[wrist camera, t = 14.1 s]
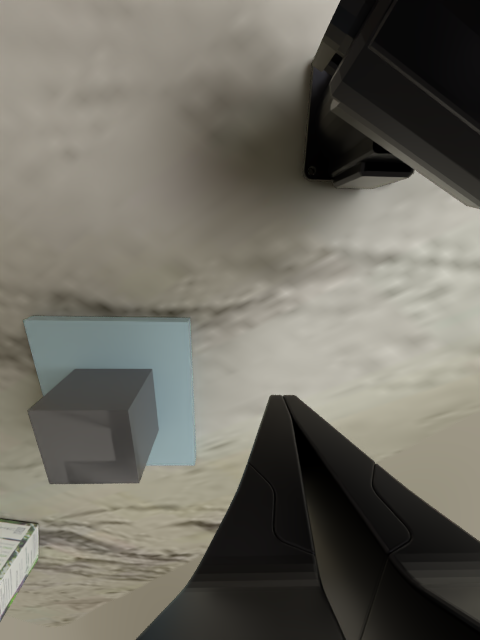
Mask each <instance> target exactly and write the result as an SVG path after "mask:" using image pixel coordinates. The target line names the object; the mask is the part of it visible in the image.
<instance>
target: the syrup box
mask: <svg viewBox="0 0 480 640" xmlns="http://www.w3.org/2000/svg"><path fill="white" fill-rule="evenodd" d="M38 554H39V535H38V524H33V523H25V522H18V521H11V520H4V519H0V621H1V620H2V618H3V616H4V615H5V613H6V611H7V610H8V608H9V607H10V605H11V603H12V602H13V600H14V598H15V596H16V595H17V593H18V592H19V590H20V588H21V587H22V585H23V583H24V582H25V580H26V578H27V577H28V575H29V573H30V572H31V570H32V568H33V567H34V565H35V563H36V562H37V560H38V556H39V555H38Z"/></svg>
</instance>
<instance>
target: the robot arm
mask: <svg viewBox="0 0 480 640" xmlns="http://www.w3.org/2000/svg"><path fill="white" fill-rule="evenodd" d="M311 65H312V73H311V84H310V95H309V106H308V118H307V129H306V140H305V151H304V162H303V176H304V178H305V179H306V180H309V181H333V185H334V186H335V188H361V189H373V188H376V187H379V186H383V185H386V184H389V183H394V182H397V181H400V180H403V179H406V178H409V177H410V176H411V175H412V174H413V173H414V170H416V171H417V172H419V173H420V174H422V175H423V176H424V177H426V178H427V179H429V180H430V181H432V182H433V183H434V184H436V185H437V186H439V187H440V188H442V189H443V190H444V191H446V192H447V193H449V194H450V195H452V196H453V197H454V198H456V199H457V200H459V201H460V202H462V203H463V204H464V205H466V206H469V207H473V208H477V209H480V0H341V1H340V3H339V5H338V7H337V9H336V11H335V13H334V15H333V17H332V20H331V22H330V24H329V26H328V28H327V30H326V32H325V35H324V37H323V39H322V41H321V43H320V46H319V48H318V50H317V53H316V55H315V57H314V60H313V62H312V64H311ZM310 167H311V168H313V169H314V174H313V175H310V174H309V173H308V169H309V168H310ZM136 640H480V541H479V540H477V539H476V538H474V537H473V536H471V535H470V534H469V533H468V532H466V531H465V530H463V529H462V528H461V527H459V526H458V525H456V524H455V523H454V522H452V521H451V520H450V519H448V518H447V517H445V516H444V515H442V514H441V513H440V512H439V511H437V510H436V509H434V508H433V507H431V506H430V505H429V504H428V503H426V502H425V501H424V500H422V499H421V498H419V497H418V496H417V495H415V494H414V493H413V492H412V491H410V490H409V489H407V488H406V487H405V486H404V485H403V484H401V483H400V482H399V481H397V480H396V479H395V478H394V477H393V476H391V475H390V474H389V473H388V472H387V471H385V470H384V469H383V468H382V467H380V466H379V465H378V464H375V462H374V461H373V460H372V459H371V458H370V457H368V456H367V455H366V454H365V453H364V452H362V451H361V450H360V449H359V448H358V447H356V446H355V445H354V444H353V443H352V442H350V441H349V440H348V439H347V438H346V437H344V436H343V435H342V434H341V433H340V432H338V431H337V430H336V429H335V428H334V427H332V426H331V425H330V424H329V423H328V422H326V421H325V420H324V419H323V418H322V417H320V416H319V415H318V414H317V413H316V412H315V411H313V410H312V409H311V408H310V407H309V406H307V405H306V404H305V403H304V402H303V401H301V400H300V399H299V398H298V397H297V396H295V395H284V396H282V395H271V396H270V397H269V400H268V403H267V406H266V409H265V412H264V415H263V418H262V421H261V424H260V427H259V430H258V433H257V436H256V439H255V442H254V445H253V448H252V451H251V454H250V456H249V459H248V462H247V465H246V468H245V471H244V474H243V476H242V479H241V482H240V484H239V487H238V489H237V492H236V494H235V496H234V498H233V500H232V502H231V504H230V507H229V509H228V511H227V513H226V515H225V516H224V518H223V520H222V522H221V524H220V526H219V528H218V530H217V532H216V534H215V536H214V538H213V540H212V541H211V543H210V545H209V547H208V549H207V551H206V553H205V555H204V557H203V559H202V561H201V562H200V564H199V566H198V568H197V569H196V571H195V573H194V574H193V576H192V577H191V579H190V580H189V582H188V584H187V585H186V586H185V588H184V589H183V590H182V591H181V592H180V593H179V595H178V596H177V597H176V598H175V599H174V600H173V601H172V602H171V603H170V604H169V605H168V606H167V607H166V608H165V609H164V610H163V611H162V612H161V613H160V615H158V617H157V618H156V619H155V620H154V621H153V622H152V623H151V624H150V625H149V626H148V627H147V628H146V629H145V630H144V631H143V632H142V633H141V634H140V636H139V637H138V638H137V639H136Z"/></svg>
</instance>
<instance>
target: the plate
mask: <svg viewBox="0 0 480 640" xmlns="http://www.w3.org/2000/svg"><path fill="white" fill-rule="evenodd" d="M23 322H24V326H25V330H26V334H27V337H28V341H29V345H30V349H31V352H32V356H33V360H34V364H35V367H36V371H37V375H38V379H39V382H40V386H41V390H42V394H43V396H45V395H46V394H47V393H48V392H49V391H50V390H51V389H53V388H54V387H55V386H56V385H57V384H58V383H59V382H61V381H62V380H63V379H64V378H65V377H66V376H67V375H69V374H70V373H71V372H72V371H73V370H74V369H152V371H153V380H154V389H155V398H156V408H157V417H158V426H159V431H158V434H157V436H156V439H155V442H154V444H153V447H152V450H151V453H150V455H149V458H148V461H147V463H146V465H195V460H196V442H195V418H194V395H193V372H192V348H191V325H190V318H162V317H87V316H31V317H29V318H27V319H24V320H23Z"/></svg>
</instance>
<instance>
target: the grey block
mask: <svg viewBox="0 0 480 640" xmlns="http://www.w3.org/2000/svg"><path fill="white" fill-rule="evenodd" d="M28 415H29V418H30V421H31V424H32V428H33V431H34V434H35V437H36V441H37V444H38V447H39V451H40V454H41V457H42V460H43V464H44V467H45V470H46V473H47V477H48V480H49V483H50V484H106V483H139V482H140V479H141V477H142V474H143V471H144V469H145V466H146V463H147V461H148V458H149V455H150V453H151V450H152V447H153V444H154V442H155V439H156V436H157V434H158V431H159V426H158V417H157V408H156V398H155V389H154V380H153V371H152V369H74V370H73V371H72V372H71V373H70V374H69V375H67V376H66V377H65V378H64V379H63V380H62V381H61V382H59V383H58V384H57V385H56V386H55V387H54V388H53V389H51V390H50V391H49V392H48V393H47V394H46V395H45V396H43V397H42V398H41V399H40V400H39V401H38V402H37V403H36V404H34V405H33V406H32V407H31V408H30V409H29V410H28Z"/></svg>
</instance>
